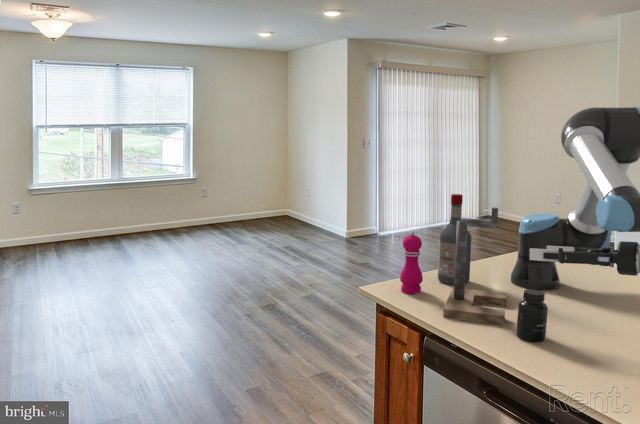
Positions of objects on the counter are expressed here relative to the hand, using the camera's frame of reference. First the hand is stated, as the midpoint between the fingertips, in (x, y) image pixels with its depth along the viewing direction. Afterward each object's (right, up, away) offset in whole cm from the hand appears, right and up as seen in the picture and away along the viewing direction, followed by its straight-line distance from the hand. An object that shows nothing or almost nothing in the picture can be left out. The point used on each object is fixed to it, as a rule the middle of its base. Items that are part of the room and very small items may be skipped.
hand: (538, 252), depth 125 cm
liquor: (-9, -14, +47) cm, 50 cm away
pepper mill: (-25, -16, +38) cm, 48 cm away
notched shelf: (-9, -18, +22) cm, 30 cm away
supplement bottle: (-1, -22, +2) cm, 22 cm away
